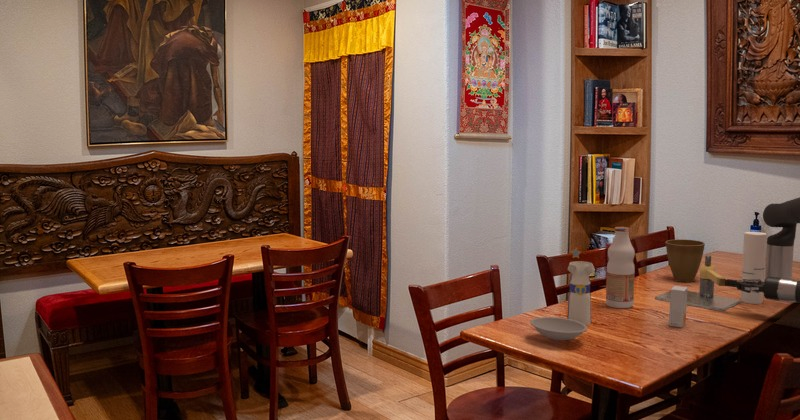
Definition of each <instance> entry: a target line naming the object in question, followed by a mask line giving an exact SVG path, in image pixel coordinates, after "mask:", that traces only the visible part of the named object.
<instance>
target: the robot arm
mask: <svg viewBox="0 0 800 420" xmlns="http://www.w3.org/2000/svg"><path fill="white" fill-rule="evenodd" d="M762 219H763V221H764V222H763V223H764V224H765V225H767V226H768V227H771V228H781V230H780V231H779V232H776V233H774V234H771V235H768V236H767V237H766V253H765V270H764V282H761V280H760V279H742V278H741V279H730V278H727V279H726V280H725V286H724V287H731V288H736V289H737V290H739V291H740V292H741V291H744V292H747V293H751V292H753V293H759V292H763V298H765V299H766V300H772V301H779V302H788V303H799V304H800V280H799V279H798V280H797V279H793V266H794V265H793V263H794V261H793V260H794V246H795V245H794V244H795V240H796V233H797V225H798V224H800V196H799V197H795V198H793V199H790V200H787V201H785V202H781V203H770V204H768V205H766V207H765V208H764V210H763V212H762Z"/></svg>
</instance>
